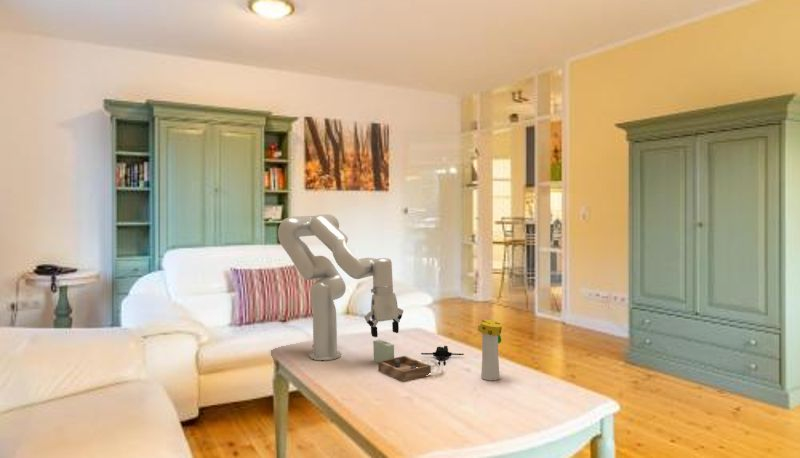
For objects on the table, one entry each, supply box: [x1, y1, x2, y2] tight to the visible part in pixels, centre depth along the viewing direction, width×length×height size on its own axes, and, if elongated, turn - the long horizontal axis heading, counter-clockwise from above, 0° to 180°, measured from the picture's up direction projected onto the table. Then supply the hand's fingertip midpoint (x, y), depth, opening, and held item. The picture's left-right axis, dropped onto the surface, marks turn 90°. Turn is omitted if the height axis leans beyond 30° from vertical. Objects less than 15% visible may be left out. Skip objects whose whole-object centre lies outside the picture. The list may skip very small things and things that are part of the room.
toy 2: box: [477, 318, 503, 381], centre depth 182 cm, size 8×9×20 cm
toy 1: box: [420, 345, 465, 366], centre depth 205 cm, size 17×5×15 cm
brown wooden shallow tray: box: [377, 355, 432, 383], centre depth 189 cm, size 16×12×4 cm
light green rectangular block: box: [372, 339, 395, 363], centre depth 202 cm, size 10×3×8 cm, turn 35°
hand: (385, 334), depth 201 cm, fingers open, 9 cm apart
